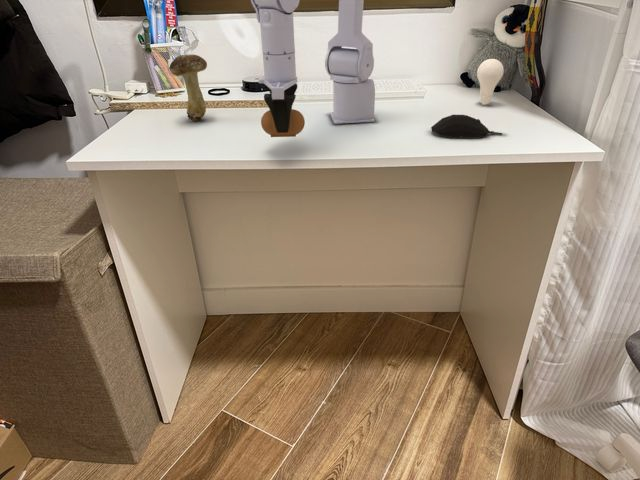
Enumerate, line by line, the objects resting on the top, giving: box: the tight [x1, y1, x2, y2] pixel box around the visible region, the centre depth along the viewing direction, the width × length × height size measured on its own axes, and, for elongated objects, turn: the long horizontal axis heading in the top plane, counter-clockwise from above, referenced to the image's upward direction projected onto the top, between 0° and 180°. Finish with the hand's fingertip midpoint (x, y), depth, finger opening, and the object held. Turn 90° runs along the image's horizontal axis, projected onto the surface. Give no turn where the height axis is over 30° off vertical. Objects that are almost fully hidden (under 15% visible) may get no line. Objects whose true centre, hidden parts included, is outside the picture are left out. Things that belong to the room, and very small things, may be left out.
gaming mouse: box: [430, 114, 503, 139], centre depth 93 cm, size 6×15×4 cm, turn 83°
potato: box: [260, 108, 306, 138], centre depth 84 cm, size 8×5×5 cm, turn 90°
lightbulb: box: [476, 58, 505, 106], centre depth 109 cm, size 6×6×11 cm
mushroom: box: [168, 53, 208, 122], centre depth 102 cm, size 9×9×15 cm
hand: (283, 127), depth 85 cm, fingers closed on potato, 5 cm apart
